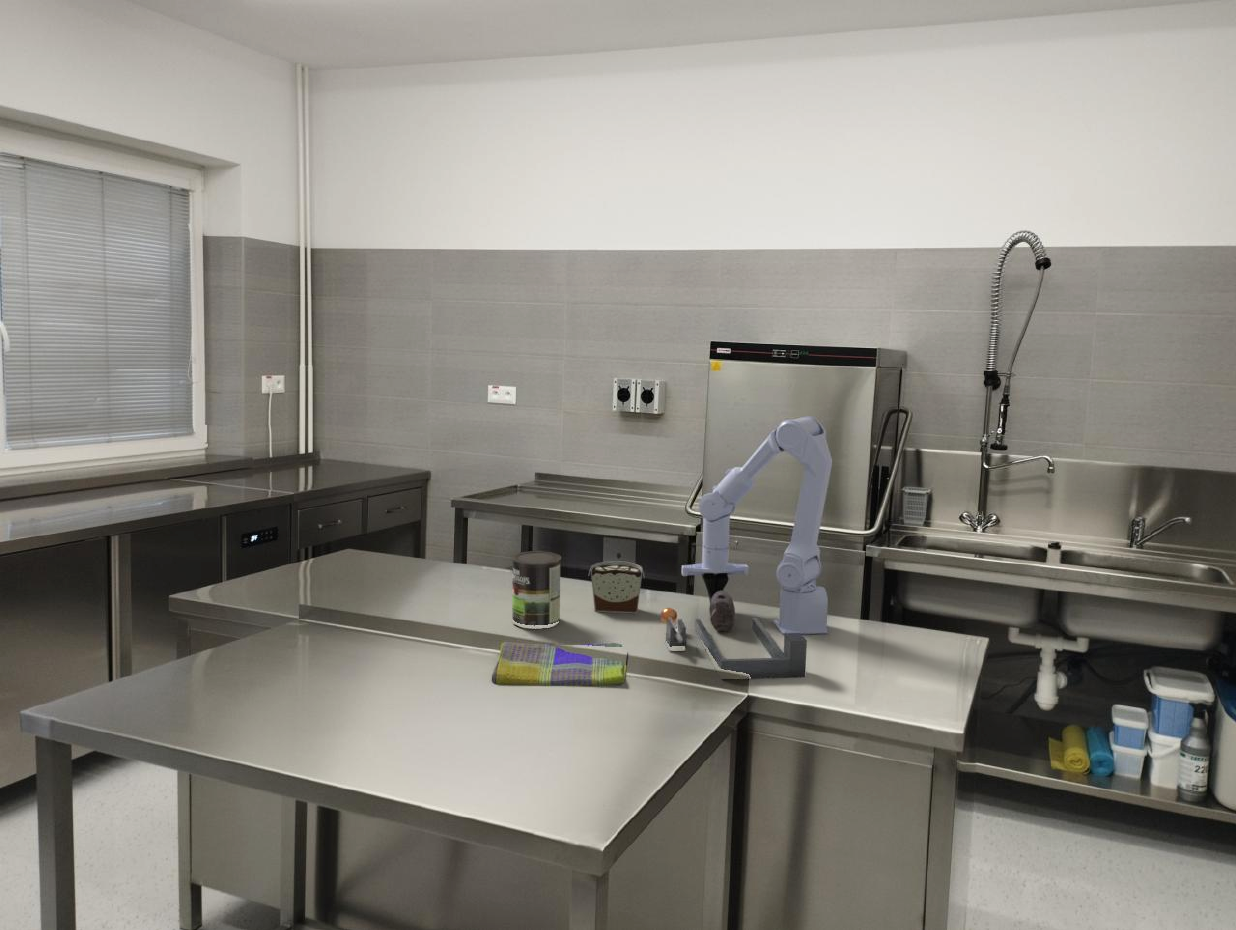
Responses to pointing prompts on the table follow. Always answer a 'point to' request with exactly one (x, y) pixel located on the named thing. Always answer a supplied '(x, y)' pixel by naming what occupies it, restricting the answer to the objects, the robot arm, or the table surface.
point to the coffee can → (536, 588)
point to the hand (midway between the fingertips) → (713, 606)
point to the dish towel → (554, 666)
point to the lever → (672, 615)
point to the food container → (616, 586)
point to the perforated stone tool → (722, 611)
